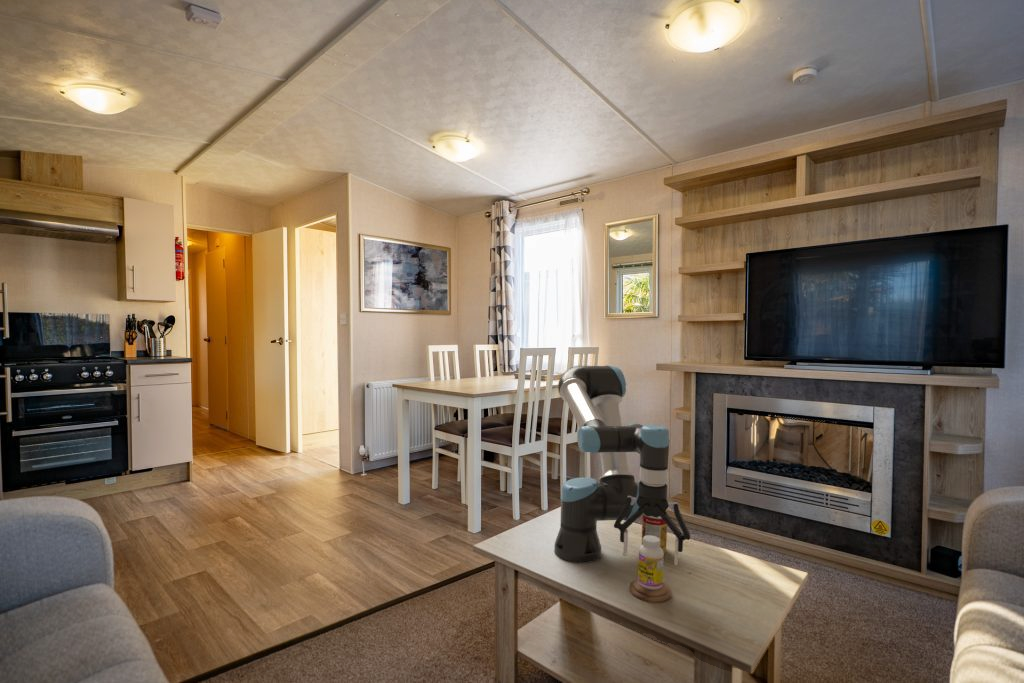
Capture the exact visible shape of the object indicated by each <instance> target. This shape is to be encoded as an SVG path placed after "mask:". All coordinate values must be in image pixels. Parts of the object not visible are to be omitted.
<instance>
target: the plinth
mask: <svg viewBox="0 0 1024 683" xmlns="http://www.w3.org/2000/svg"><path fill="white" fill-rule="evenodd" d="M629 592H630V594H632V596H634V597H635V598H637V599H639V600H640V601H644V602H648V603H652V604H653V603H654V604H655V603H665V602H668V601H669V600H670V599H671V597H672V591H671V588H670V587H669V586H668V585H667V584H666V583H665V582H664V581H663V585H662V587H661V588H660V589H656V590H650V589H646V588H644V587H642V586H641V585H640V584H639V583H638V577H637V578H635V579H634V580H632V581H631V582H630V583H629Z"/></svg>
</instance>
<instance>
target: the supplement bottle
mask: <svg viewBox="0 0 1024 683" xmlns="http://www.w3.org/2000/svg"><path fill="white" fill-rule="evenodd" d="M659 546H660V539H659V538H658V537H656V536H651V535H647V536H644V537H643V545H642V544H641V545H640V546H639V548H638V563H637V564H638V565H637V568H638V569H637V578H638V583H639V584H640V585H641V586H642V587H644V588H646V589H650V590H656V589H660V588H661V587H662V585H663V582H664V553H663V550H662V549H661V548H660V547H659Z"/></svg>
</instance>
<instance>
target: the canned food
mask: <svg viewBox="0 0 1024 683" xmlns="http://www.w3.org/2000/svg"><path fill="white" fill-rule="evenodd" d="M641 516H642V517H641V519H642V520H641V546H642V545H643V537H644V536H647V535H651V536H656V537H658V538H659V539H660V546H659V547H660V548H661V549H662V550H663V553H664V554H666V553H667V539H668V525H667V524H666V522H665V521H664V520H663V519H662V518H661V517H660V516H659V517H658V518H657V517H653V516H646V515H645V514H642V515H641Z"/></svg>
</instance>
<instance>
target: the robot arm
mask: <svg viewBox="0 0 1024 683" xmlns="http://www.w3.org/2000/svg"><path fill="white" fill-rule="evenodd" d="M626 386H627V384H626V378H625V375H624V372H623V371H622V370H621V369H620V368H619V367H617V366H613V365H612V366H610V365H575V366H572V367H570V368H568V369H567V370H565V372H563V374H562V375H561V376H560V378H559V380H558V384H557V390H558V394H559V396H560V398H561V399H562V400H563V401H564V402H566V403H567V405H568V408H569V409H570V412H571V414H572V416H573V418H574V420H575V422H576V425H577V426H578V430H577V434H576V436H577V438H576V442H577V445H578V449H579V450H580V451H581V452H583V453H592V454H596V453H600V460H601V461H600V462H601V468H602V475H601V476H600V477H599V482H598V480H597V479H595V478H594V477H593V478H592V477H586V476H585V477H584V476H583V477H574V478H570V479H568V480H567V481H565V482H564V483H563V484H562V486H561V494H560V525H559V526H560V528H559V531H558V532H557V535H556V539H555V541H554V549H553V550H554V554H555V555H556V556H558V557H559V558H560V559H563V560H565V561H568V562H571V563H572V562H573V563H581V564H582V563H591V562H595V561H597V560H598V559H600V558H601V557H602V544H601V540H600V538H599V534H598V530H597V529H598V528H597V526H598V525H597V523H598V522H599V521H600V522H601V521H614V524H613V528H615V529H618V530H619V533H620V534H619V541H620V542H621V543H623V556H627V554H628V544H629V543H628V542H629V537H628V536H629V529H628V528H629V527H630V526H631V525H632V524H633V523H634V522H635V521H636V520H637V519H639V518H640V517H641V516H642V514H645V515H646V516H653V517H657V518H658V517H659V516H660V517H661V518H662V519H663V520H664V521H665V522H666V524H667V527H668V528H669V529H670V531H671V532H672V533H673V534H674V536H675V539H674V541H675V542H674V565H676V566H678V564H679V563H678V561H679V560H678V559H679V553H682V552H683V551H684V550H683V547H684V546H683V545H684V541H685V540H687V541H688V540H690V539H691V533H690V532H691V531H689V528H688V526H687V524H686V522H685V519H684V517H683V515H682V513H681V510H680V505H679V502H678V501H673V502H669V501H668V484H667V483H668V479H669V478H668V476H669V475H668V474H669V453H670V431H669V428H668V427H666V426H663V425H657V424H645V425H643V424H641V423H640V424H639V423H630V424H628V425H622V418H621V412H620V407H619V406H620V404H621V402H622V400H623V398H624V397H625V395H626V392H627V388H626ZM627 453H638V454H639V470H638V471H639V476H638V479H639V482H638V481H636V479H635V475H634V474H632V472H630V470H629V465H628V458H627ZM668 508H669V509H670V510H671V512H674V516H675V519H676V520H677V522H678V525H679V527H680V529H681V530H680V529H679V528H678V526H677V524H676V523H675V522H674V521H673V519H672V518H671V517H670V516H669V514H668V512H667V510H668ZM622 521H623V523H622ZM681 531H682V532H681Z"/></svg>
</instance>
